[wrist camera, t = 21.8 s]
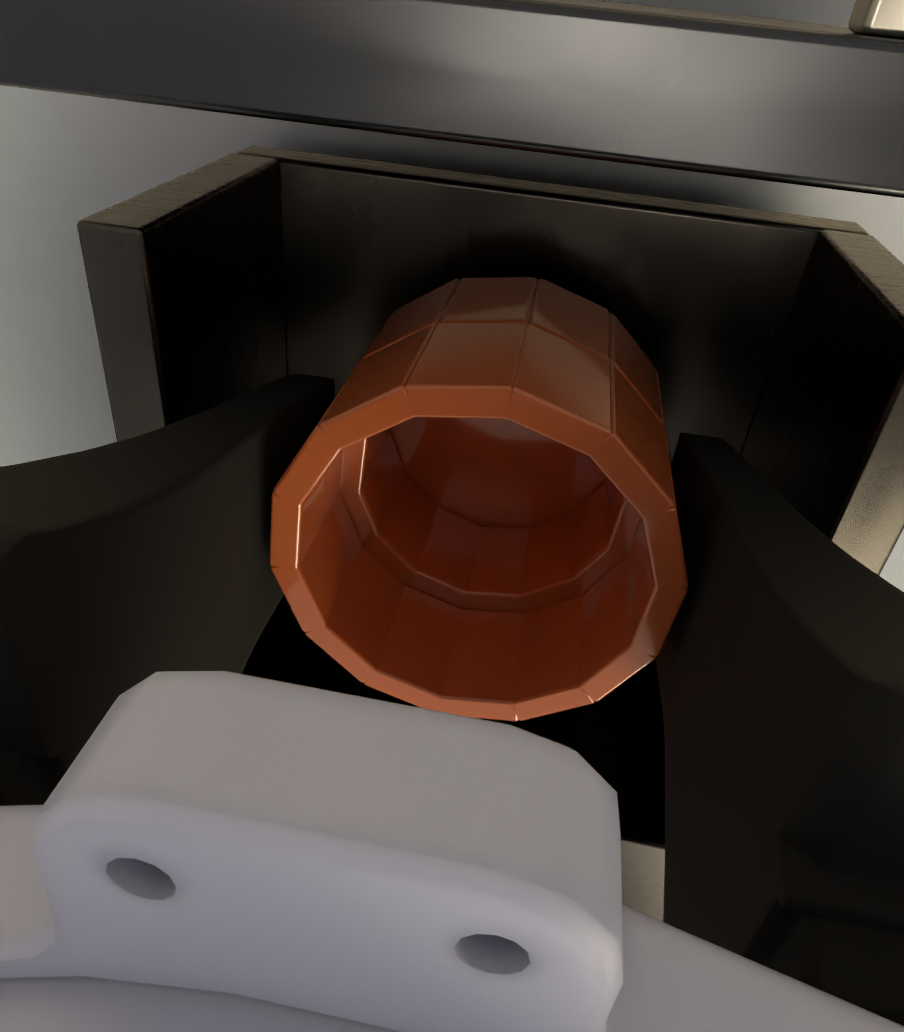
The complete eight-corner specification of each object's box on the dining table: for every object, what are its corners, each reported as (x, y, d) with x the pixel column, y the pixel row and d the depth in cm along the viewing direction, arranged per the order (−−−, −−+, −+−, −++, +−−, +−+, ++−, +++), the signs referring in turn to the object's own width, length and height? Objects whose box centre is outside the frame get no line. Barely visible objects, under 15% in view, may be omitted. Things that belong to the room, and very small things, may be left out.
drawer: (154, -657, 9) (-387, -1433, 4) (1239, -615, 8) (2245, -1573, 3) (254, 596, 19) (140, 792, 15) (714, 678, 18) (753, 917, 14)
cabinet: (236, 479, 18) (51, 726, 12) (771, 568, 17) (864, 887, 11) (266, 824, 27) (164, 1078, 20) (633, 899, 26) (643, 1191, 19)
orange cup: (305, 437, 14) (203, 589, 11) (474, 189, 11) (413, 283, 8) (529, 587, 15) (505, 771, 12) (734, 397, 12) (787, 563, 9)
